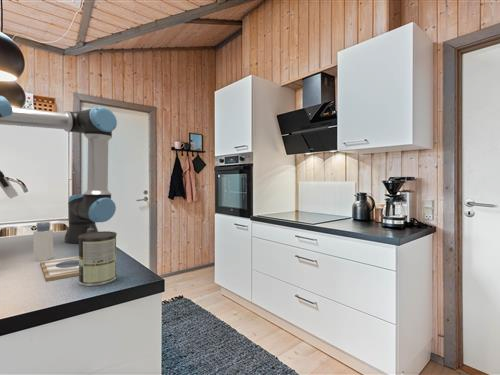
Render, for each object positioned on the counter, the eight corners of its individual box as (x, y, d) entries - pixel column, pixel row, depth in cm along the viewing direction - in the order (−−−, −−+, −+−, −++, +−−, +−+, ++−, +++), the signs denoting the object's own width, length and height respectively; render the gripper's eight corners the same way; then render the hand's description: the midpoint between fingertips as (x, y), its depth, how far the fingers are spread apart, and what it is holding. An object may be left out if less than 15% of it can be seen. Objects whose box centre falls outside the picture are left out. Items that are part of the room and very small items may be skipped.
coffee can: (70, 283, 83) (69, 235, 83) (100, 272, 93) (100, 230, 92) (95, 288, 79) (95, 238, 79) (124, 276, 89) (124, 232, 89)
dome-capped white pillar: (40, 257, 110) (40, 222, 109) (53, 257, 110) (52, 221, 110) (33, 261, 105) (33, 223, 105) (46, 260, 106) (46, 223, 106)
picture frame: (40, 264, 101) (40, 260, 101) (90, 256, 111) (90, 253, 111) (46, 281, 84) (46, 276, 84) (104, 270, 95) (104, 266, 95)
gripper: (-34, 153, 103) (3, 202, 109) (-48, 139, 84) (-1, 200, 89) (-10, 144, 108) (25, 192, 113) (-17, 130, 88) (25, 188, 94)
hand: (13, 196), depth 101 cm, fingers open, 13 cm apart
